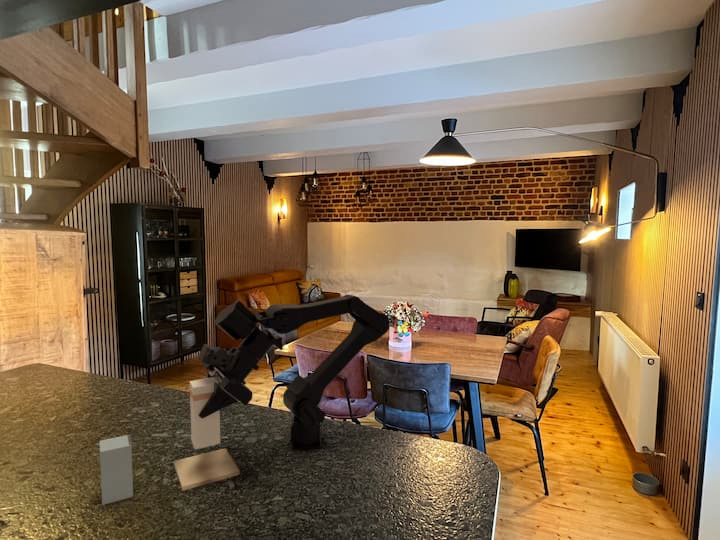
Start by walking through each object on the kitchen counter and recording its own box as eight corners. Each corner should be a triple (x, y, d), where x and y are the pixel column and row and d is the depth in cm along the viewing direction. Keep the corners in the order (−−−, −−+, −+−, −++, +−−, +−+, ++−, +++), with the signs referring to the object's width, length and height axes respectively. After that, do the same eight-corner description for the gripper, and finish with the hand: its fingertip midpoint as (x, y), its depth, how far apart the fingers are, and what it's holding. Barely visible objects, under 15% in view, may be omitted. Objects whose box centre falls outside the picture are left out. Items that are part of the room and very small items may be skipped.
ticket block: (131, 483, 85) (129, 433, 84) (133, 496, 81) (131, 444, 80) (101, 491, 82) (99, 439, 81) (102, 505, 78) (99, 451, 77)
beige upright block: (216, 435, 93) (214, 377, 91) (220, 443, 89) (219, 383, 88) (191, 440, 90) (189, 381, 89) (194, 449, 87) (193, 387, 85)
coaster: (225, 451, 98) (225, 448, 98) (239, 474, 88) (239, 470, 88) (173, 464, 92) (173, 461, 92) (182, 490, 83) (182, 486, 82)
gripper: (212, 322, 98) (160, 378, 93) (235, 339, 82) (174, 407, 77) (246, 351, 103) (199, 406, 98) (274, 372, 87) (220, 439, 82)
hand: (198, 413), depth 88 cm, fingers closed on beige upright block, 4 cm apart
